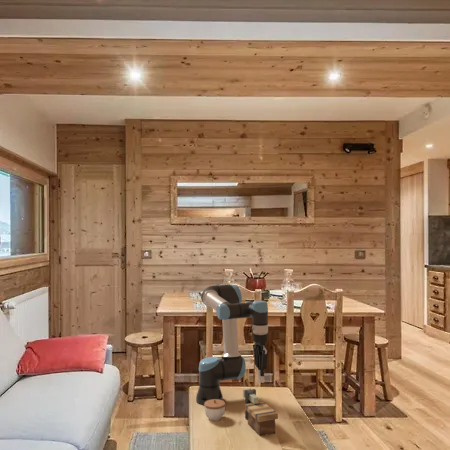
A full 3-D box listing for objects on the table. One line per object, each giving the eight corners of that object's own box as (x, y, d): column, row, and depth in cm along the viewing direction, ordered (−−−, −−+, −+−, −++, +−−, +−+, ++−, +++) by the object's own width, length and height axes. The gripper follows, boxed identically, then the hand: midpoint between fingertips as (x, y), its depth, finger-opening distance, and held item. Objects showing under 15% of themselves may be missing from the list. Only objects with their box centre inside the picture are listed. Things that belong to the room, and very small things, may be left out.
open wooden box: (247, 424, 217) (247, 409, 217) (262, 421, 219) (262, 407, 220) (259, 436, 203) (259, 420, 204) (275, 433, 206) (274, 418, 206)
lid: (245, 411, 217) (245, 404, 217) (263, 408, 221) (263, 401, 221) (258, 424, 202) (258, 416, 202) (277, 421, 206) (277, 413, 206)
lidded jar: (222, 423, 217) (222, 404, 218) (202, 421, 220) (202, 403, 220) (227, 414, 228) (227, 396, 228) (207, 413, 230) (207, 395, 230)
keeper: (245, 418, 223) (245, 390, 224) (254, 416, 225) (254, 388, 225) (246, 420, 221) (246, 391, 222) (256, 418, 223) (255, 390, 223)
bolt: (243, 396, 228) (243, 389, 228) (250, 395, 229) (250, 388, 229) (252, 405, 216) (252, 397, 216) (259, 404, 217) (259, 396, 218)
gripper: (247, 330, 218) (247, 378, 217) (259, 336, 205) (259, 387, 204) (261, 329, 220) (261, 376, 220) (273, 335, 207) (274, 385, 207)
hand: (260, 381), depth 212 cm, fingers closed
